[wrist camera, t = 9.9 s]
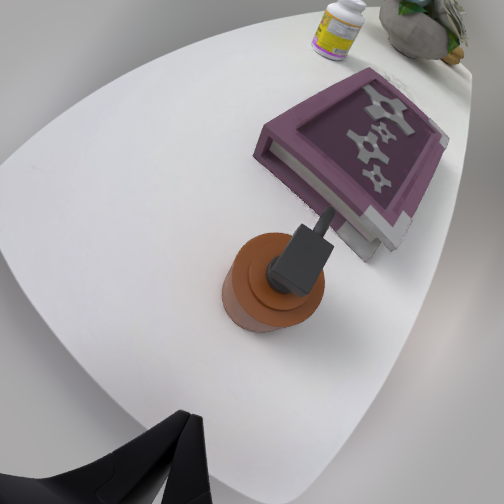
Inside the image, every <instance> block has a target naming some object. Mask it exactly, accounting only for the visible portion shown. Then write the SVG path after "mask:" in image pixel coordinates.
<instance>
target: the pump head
mask: <svg viewBox="0 0 504 504" xmlns="http://www.w3.org/2000/svg"><path fill="white" fill-rule="evenodd" d="M335 214H336V210H335V208H333V207H331V206H328V207H326V208H325V210H324V212H323V213H322V215H321V217H320V219H319V220H318V222H317V224H316V225H315V227H314V229H313V231H312V230H311V229H309V228H308V227H307V226H305V225H304V224H301V225H300V226H299V227H298V229H297V230H296V231H295V233H294V234H293V236H292V237H291V239H290V240H289V242H288V244H287V245H286V247H285V248H284V250H283V251H282V253H281V255H280V256H279V258H278V259H277V261H276V262H275V264H274V265H273V267H272V269H271V270H270V272H269V273H268V275H269V276H270V277H272V278H273V279H275V280H276V281H278V282H279V283H281V284H282V285H283V286H285V287H286V288H288V289H289V290H291V291H292V292H294V293H295V294H297V295H298V296H300V297H304V296H306V295H308V294H309V293H310V291H311V289H312V287H313V286H314V284H315V282H316V280H317V278H318V276H319V275H320V273H321V271H322V269H323V267H324V265H325V263H326V262H327V260H328V258H329V256H330V254H331V252H332V250H333V248H334V246H333V245H332V244H330V243H329V242H328V241H326V240H325V239H323V237H324V235H325V233H326V231H327V229H328V228H329V226H330V224H331V222H332V220H333V218H334V216H335Z"/></svg>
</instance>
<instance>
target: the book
mask: <svg viewBox="0 0 504 504" xmlns="http://www.w3.org/2000/svg"><path fill="white" fill-rule="evenodd" d="M449 140H450V138H449V137H448V136H447V135H446V134H445V133H444V132H443V130H442V129H441V128H440V127H439V126H438V125H437V124H436V123H435V122H434V121H433V120H432V119H431V118H429V117H428V116H426V115H425V114H424V113H423V112H422V111H421V110H420V109H419V108H418V107H417V106H416V105H415V104H414V103H413V102H412V101H410V100H409V99H408V98H407V97H406V96H405V95H404V94H402V93H401V92H400V91H399V90H398V89H397V88H395V87H394V86H393V85H392V84H391V83H389V82H388V81H387V80H386V79H384V78H383V77H382V76H380V75H379V74H378V73H377V72H375V71H374V70H373V69H371V68H370V67H368V68H366V69H364V70H362V71H360V72H358V73H356V74H354V75H352V76H350V77H348V78H346V79H344V80H342V81H340V82H338V83H336V84H334V85H332V86H330V87H328V88H327V89H325V90H323V91H321V92H319V93H317V94H316V95H314V96H312V97H310V98H308V99H307V100H305V101H303V102H301V103H300V104H298V105H296V106H294V107H293V108H291V109H289V110H288V111H286V112H284V113H283V114H281V115H279V116H278V117H276V118H274V119H273V120H271V121H269V122H268V123H266V124H265V125H264V126H263V128H262V131H261V134H260V137H259V140H258V142H257V145H256V148H255V151H254V154H253V157H254V158H256V159H257V160H258V161H259V162H260V163H262V164H263V165H264V166H265V167H266V168H267V169H269V170H270V171H271V172H272V173H273V174H274V175H275V176H277V177H278V178H279V179H280V180H281V181H282V182H283V183H285V184H286V185H287V186H288V187H289V188H290V189H291V190H292V191H294V192H295V193H296V194H297V195H298V196H299V197H300V198H301V199H302V200H303V201H305V202H306V203H307V204H308V205H309V206H310V207H311V208H312V209H313V210H314V211H315V212H316V213H317V214H319V215H320V216H321V215H322V213H323V212H324V210H325V208H326V207H328V206H331V207H333V208H335V210H336V214H335V216H334V218H333V220H332V222H331V224H330V226H331V227H332V228H333V229H334V230H335V231H336V232H335V233H336V234H338V235H339V236H340V237H341V238H342V239H343V240H344V241H345V242H346V243H347V244H348V245H349V246H350V247H351V248H352V249H353V250H354V251H355V252H356V253H357V254H358V255H359V256H360V257H361V258H362V259H363V260H364V261H365V262H366V261H368V260H370V259H371V257H372V256H373V254H374V253H375V251H376V250H377V248H378V247H379V245H380V243H381V242H382V243H383V244H384V245H385V246H386V247H387V248H388V249H389V250H390V251H393V250H395V249H397V248H398V246H399V244H400V242H401V241H402V239H403V237H404V235H405V233H406V232H407V230H408V228H409V226H410V224H411V222H412V217H413V215H414V213H415V211H416V209H417V207H418V205H419V203H420V201H421V200H422V197H423V195H424V193H425V191H426V189H427V187H428V185H429V183H430V181H431V179H432V177H433V174H434V172H435V170H436V168H437V166H438V163H439V161H440V159H441V156H442V154H443V152H444V150H445V149H446V147H447V145H448V142H449Z"/></svg>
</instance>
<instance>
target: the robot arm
mask: <svg viewBox="0 0 504 504" xmlns="http://www.w3.org/2000/svg"><path fill="white" fill-rule="evenodd" d="M167 477H168V479H167ZM166 479H167V483H166V486H165V490H164V494H163V499H162V502H161V504H213V503H212V497H211V492H210V483H209V475H208V467H207V458H206V448H205V438H204V427H203V418H202V417H201V416H198V415H195V414H190V413H189V412H186V411H184V410H178V411H177V412H175V413H174V414H172V415H171V416H169V417H168V418H166V419H165V420H163V421H162V422H160V423H159V424H157V425H155V426H154V427H152V428H151V429H149V430H148V431H146V432H145V433H143V434H141V435H140V436H138V437H137V438H135V439H133V440H131V441H130V442H128V443H127V444H125V445H123V446H121V447H120V448H118V449H116V450H115V451H113V452H112V453H109V454H108V455H106V456H104V457H102V458H100V459H98V460H96V461H94V462H92V463H90V464H88V465H85V466H82V467H80V468H77V469H75V470H72V471H68V472H65V473H62V474H59V475H56V476H53V477H49V478H42V479H34V478H26V477H18V476H12V475H7V474H1V473H0V504H152V502H153V501H154V499H155V497H156V495H157V494H158V492H159V490H160V489H161V487H162V485H163V484H164V481H165V480H166Z"/></svg>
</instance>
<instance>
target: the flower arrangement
mask: <svg viewBox="0 0 504 504" xmlns="http://www.w3.org/2000/svg"><path fill="white" fill-rule="evenodd" d="M464 14H465V13H464V10H462V7H461V6H458V3H457V2H456V1H455V0H384V2H383V4H382V6H381V8H380V16H379V19H380V21H381V23H382V26H383V27H384V29H385V30H386V31H387V33H388V34H389V42H390V43H391V45H392V46H394V47H395V48H396V49H397V50H398V51H400V52H401V53H403V54H404V55H406V56H408V57H410V58H413V59H414V58H417V57H423V58H426V59H432V60H439V59H442V58H444V57H445V56H447V55H449V54H450V53H451V52H452V51H453V50H454V49H455V48H457V47H458V46H459V45H460V42H459V39H460V41H461V43H463V41H462V40H461V39H463V40H464V41H465V45H466V46H467V41H466V40H465V39H468V36H467V34H466V30H465V26H464V24H463V22H462V21H463V20H462V16H463V15H464Z"/></svg>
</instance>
